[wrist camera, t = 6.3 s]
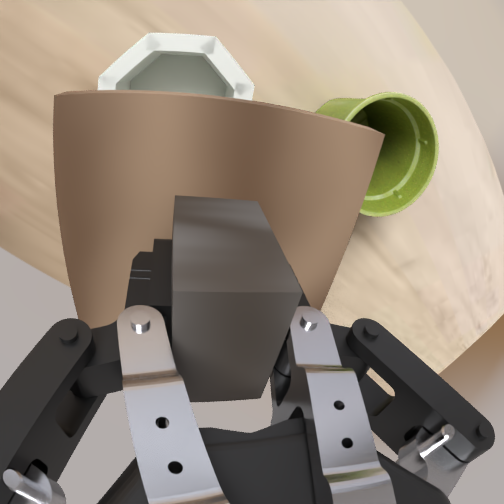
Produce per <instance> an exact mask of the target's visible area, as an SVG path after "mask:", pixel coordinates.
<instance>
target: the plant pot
mask: <svg viewBox="0 0 504 504" xmlns="http://www.w3.org/2000/svg"><path fill="white" fill-rule="evenodd" d="M316 113H318V114H322V115H326V116H330V117H334V118H338V119H342V120H345V121H349V122H353V123H356V124H360V125H363V126H367V127H370V128H372V129H374V130H376V131H378V132H380V133H383V134H385V136H384V140H383V143H382V146H381V149H380V153H379V156H378V159H377V162H376V165H375V168H374V172H373V175H372V178H371V181H370V184H369V187H368V190H367V192H366V195H365V198H364V201H363V204H362V207H361V210H360V212H359V213H361V214H363V215H367V216H372V217H383V216H389V215H392V214H396V213H398V212H400V211H402V210H404V209H405V208H407V207H408V206H410V205H411V204H413V203H414V202H415V201H416V200H417V199H418V198H419V197H420V196H421V194H422V193H423V192H424V191H425V189H426V188H427V186H428V184H429V182H430V181H431V179H432V176H433V174H434V171H435V168H436V164H437V160H438V153H439V143H438V135H437V130H436V127H435V124H434V121H433V119H432V117H431V115H430V114H429V112H428V111H427V109H426V108H425V107H424V106H423V105H422V104H421V103H420V102H419V101H417V100H416V99H414V98H412V97H410V96H408V95H405V94H402V93H396V92H385V93H380V94H376V95H373V96H371V97H368V98H366V99H352V98H338V99H333V100H330V101H328V102H327V103H326V104H324V105H323V106H322V107H321V108H320V109H318V110H317V111H316Z"/></svg>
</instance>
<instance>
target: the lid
mask: <svg viewBox="0 0 504 504" xmlns="http://www.w3.org/2000/svg"><path fill="white" fill-rule="evenodd" d="M384 136H385V134H383V133H380V132H378V131H376V130H374V129H372V128H370V127H367V126H363V125H360V124H356V123H353V122H349V121H345V120H342V119H338V118H334V117H330V116H326V115H322V114H318V113H313V112H309V111H304V110H300V109H295V108H290V107H285V106H280V105H274V104H269V103H263V102H257V101H251V100H244V99H237V98H230V97H222V96H214V95H205V94H195V93H183V92H168V91H148V90H88V91H69V92H64V93H61V94H57V95H54V115H53V147H54V171H55V186H56V197H57V207H58V216H59V224H60V231H61V238H62V244H63V250H64V256H65V261H66V267H67V272H68V277H69V281H70V286H71V290H72V295H73V298H74V303H75V307H76V311H77V315H78V319H79V320H82V321H84V322H85V323H86V324H87V325H88V326H89V327H90V329H92V328H97V327H102V326H106V325H109V324H111V323H113V322H115V321H116V320H117V319H118V317H119V315H120V313H121V312H122V311H124V309H125V303H126V296H127V290H128V283H129V279H130V272H131V266H132V260H133V258H134V257H135V256H136V255H137V254H138V253H139V252H140V251H144V252H153V244H154V239H172V315H171V351H172V355H173V359H174V363H175V366H176V370H177V372H178V373H180V374H181V376H182V378H183V381H184V384H185V388H186V391H187V394H188V397H189V401H190V402H212V401H232V400H246V399H258V398H261V396H262V393H263V391H264V388H265V386H266V384H267V381H268V379H269V377H270V374H271V372H272V370H273V367H274V365H275V362H276V360H277V357H278V355H279V352H280V350H281V348H282V345H283V342H284V340H285V337H286V335H287V332H288V330H289V327H290V325H291V322H292V319H293V317H294V314H295V312H296V309H297V306H298V304H299V301H300V298H301V296H302V293H303V292H304V294H305V296H306V298H307V300H308V302H309V304H310V306H311V307H313V308H315V309H317V310H319V311H320V310H321V308H322V306H323V303H324V301H325V299H326V296H327V294H328V292H329V289H330V287H331V284H332V282H333V280H334V277H335V275H336V272H337V270H338V267H339V265H340V262H341V260H342V257H343V255H344V252H345V250H346V247H347V245H348V242H349V239H350V237H351V234H352V231H353V229H354V226H355V223H356V221H357V218H358V215H359V212H360V210H361V207H362V204H363V201H364V198H365V195H366V192H367V190H368V187H369V184H370V181H371V178H372V175H373V172H374V168H375V165H376V162H377V159H378V156H379V153H380V149H381V146H382V143H383V140H384ZM289 264H290V265H291V267H292V269H293V271H294V273H295V275H294V273H293V271H292V269H291V267H290V265H289ZM295 276H296V277H297V279H298V281H297V279H296V277H295ZM299 284H300V286H301V288H302V290H303V292H302V290H301V288H300V286H299Z"/></svg>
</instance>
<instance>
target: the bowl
mask: <svg viewBox="0 0 504 504" xmlns="http://www.w3.org/2000/svg"><path fill="white" fill-rule="evenodd" d="M254 86H255V85H254V84H253V83H252V81H251V80H250V79H249V77H248V76H247V75H246V73H245V72H244V71H243V70H242V68H241V67H240V66H239V65H238V63H237V62H236V61H235V60H234V58H233V57H232V56H231V55H230V53H229V52H228V51H227V50H226V48H225V47H224V46H223V45H222V44H221V42H220V41H219V40H218V39H217V38H216V36H215V37H214V36H204V35H192V34H176V33H148V34H147V35H146V36H144V37H143V38H142V39H141V40H139V41H138V42H137V43H136V44H135V45H133V46H132V47H131V48H130V49H129V50H128V51H126V52H125V53H124V54H123V55H122V56H121V57H120V58H118V59H117V60H116V61H115V62H114V63H113V64H112V65H111V66H110V67H109V68H108V69H107V70H106V71H105V72H103V73H102V74H101V75H100V76H99V81H98V90H148V91H168V92H183V93H195V94H205V95H214V96H222V97H230V98H237V99H244V100H251V101H252V97H253V91H254Z"/></svg>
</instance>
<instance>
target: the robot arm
mask: <svg viewBox="0 0 504 504" xmlns="http://www.w3.org/2000/svg"><path fill="white" fill-rule="evenodd" d="M289 265H290V264H289ZM290 267H291V265H290ZM291 269H292V267H291ZM292 271H293V269H292ZM293 273H294V271H293ZM294 275H295V273H294ZM295 277H296V276H295ZM296 279H297V277H296ZM297 281H298V279H297ZM299 286H300V284H299ZM300 288H301V286H300ZM301 290H302V288H301ZM302 292H303V290H302ZM171 315H172V239H154V244H153V252H144V251H140V252H139V253H138V254H137V255H136V256H135V257H134V258H133V260H132V266H131V272H130V279H129V283H128V290H127V296H126V303H125V309H124V311H122V312H121V313H120V315H119V317H118V319H117V320H116V321H115V322H113V323H111V324H109V325H106V326H102V327H97V328H92V329H90V327H89V326H88V325H87V324H86V323H85V322H84V321H82V320H79V319H73V318H69V319H64V320H61V321H59V322H57V323H56V324H54V325H53V326H52V327H51V328H50V330H49V331H48V332H47V333H46V334H45V335H44V336H43V338H42V339H41V340H40V341H39V342H38V343H37V345H36V346H35V347H34V348H33V350H32V351H31V352H30V353H29V354H28V356H27V357H26V358H25V359H24V360H23V362H22V363H21V364H20V366H19V367H18V368H17V369H16V370H15V372H14V373H13V374H12V376H11V377H10V378H9V380H8V381H7V382H6V383H5V385H4V386H3V388H2V389H1V390H0V504H66V498H65V494H64V492H63V490H62V488H61V487H60V485H59V484H58V483H57V481H58V479H59V477H60V475H61V473H62V472H63V470H64V468H65V466H66V464H67V462H68V461H69V459H70V457H71V455H72V453H73V452H74V450H75V448H76V446H77V445H78V443H79V441H80V439H81V437H82V436H83V434H84V432H85V431H86V429H87V427H88V425H89V424H90V422H91V420H92V418H93V417H94V415H95V414H96V412H97V410H98V408H99V407H100V405H101V403H102V402H103V400H104V398H105V397H106V395H107V394H108V393H112V392H116V391H121V390H123V391H124V398H125V404H126V409H127V415H128V421H129V425H130V431H131V436H132V440H133V445H134V449H135V453H136V457H135V459H134V460H133V461H132V462H131V463H130V465H129V466H128V467H127V468H126V470H125V471H124V472H123V473H122V474H121V476H120V477H119V478H118V479H117V480H116V482H115V483H114V484H113V485H112V487H111V488H110V489H109V490H108V491H107V492H106V494H105V495H104V496H103V497H102V499H101V500H100V501H99V502H98V503H97V504H450V501H449V499H448V496H449V494H450V493H451V491H452V490H453V488H454V487H455V485H456V483H457V482H458V480H459V479H460V477H461V475H462V473H463V472H464V470H465V468H466V466H467V465H468V463H470V462H471V461H473V460H474V459H476V458H477V457H478V456H480V455H481V454H483V453H484V452H486V451H487V450H488V449H490V448H491V447H492V446H493V444H494V440H495V434H494V429H493V427H492V425H491V423H490V422H489V421H488V420H487V419H486V418H485V417H484V416H483V415H482V414H481V413H480V412H478V411H477V410H476V409H475V408H474V407H473V406H472V405H471V404H470V403H469V402H468V401H466V400H465V399H464V398H463V397H462V396H461V395H460V394H459V393H458V392H457V391H455V390H454V389H453V388H452V387H451V386H450V385H449V384H448V383H447V382H445V381H444V380H443V379H442V378H441V377H440V376H439V375H438V374H437V373H435V372H434V371H433V370H432V369H431V368H430V367H429V366H428V365H426V364H425V363H424V362H423V361H422V360H421V359H420V358H418V357H417V356H416V355H415V354H414V353H413V352H412V351H410V350H409V349H408V348H407V347H406V346H405V345H404V344H402V343H401V342H400V341H399V340H398V339H397V338H396V337H394V336H393V335H392V334H391V333H390V332H389V331H387V330H386V329H385V328H384V327H383V326H382V325H380V324H379V323H377V322H376V321H374V320H371V319H367V318H361V319H358V320H356V321H355V322H354V323H353V325H352V327H351V328H349V327H344V326H339V325H334V324H330V323H329V320H328V318H327V317H326V316H325V315H324V314H323V313H322V312H321V311H319V310H317V309H315V308H313V307H311V306H310V304H309V302H308V300H307V298H306V296H305V294H304V292H303V293H302V296H301V298H300V301H299V304H298V306H297V309H296V312H295V314H294V317H293V319H292V322H291V325H290V327H289V330H288V332H287V335H286V337H285V340H284V342H283V345H282V348H281V350H280V352H279V355H278V357H277V360H276V362H275V365H274V367H273V370H272V372H271V374H270V383H271V396H272V407H273V416H272V420H271V426H269V427H267V428H264V429H262V430H259V431H256V432H253V433H244V432H237V431H230V430H223V429H217V428H198V425H197V422H196V419H195V416H194V413H193V410H192V407H191V404H190V401H189V397H188V394H187V391H186V388H185V384H184V381H183V378H182V376H181V374H180V373H178V372H177V370H176V366H175V363H174V359H173V355H172V351H171ZM370 367H371V368H372V369H373V370H374V371H375V372H376V373H377V374H378V375H379V376H380V377H381V378H383V379H384V380H385V381H386V382H387V383H388V384H389V385H390V386H391V387H392V388H393V389H394V392H395V396H390V395H389V394H387V393H386V392H385V391H384V390H383V389H382V388H381V387H380V386H379V385H378V384H377V383H376V382H375V381H374V380H373V379H371V378H370V377H369V376H368V375H367V374H366V373H367V371H368V370H369V369H370ZM371 430H372V431H373V432H374V433H375V434H376V435H377V436H378V437H380V439H381V440H382V441H384V442H385V443H386V444H387V445H388V446H389V447H390V448H391V449H392V450H393V451H394V452H395V453H396V454H397V455H398V458H399V459H398V460H397V461H396V463H395V462H394V461H392V460H391V459H389V458H388V457H386V456H384V455H383V454H381V453H380V452H378V451H377V450H376V447H375V444H374V439H373V436H372V432H371Z"/></svg>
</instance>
